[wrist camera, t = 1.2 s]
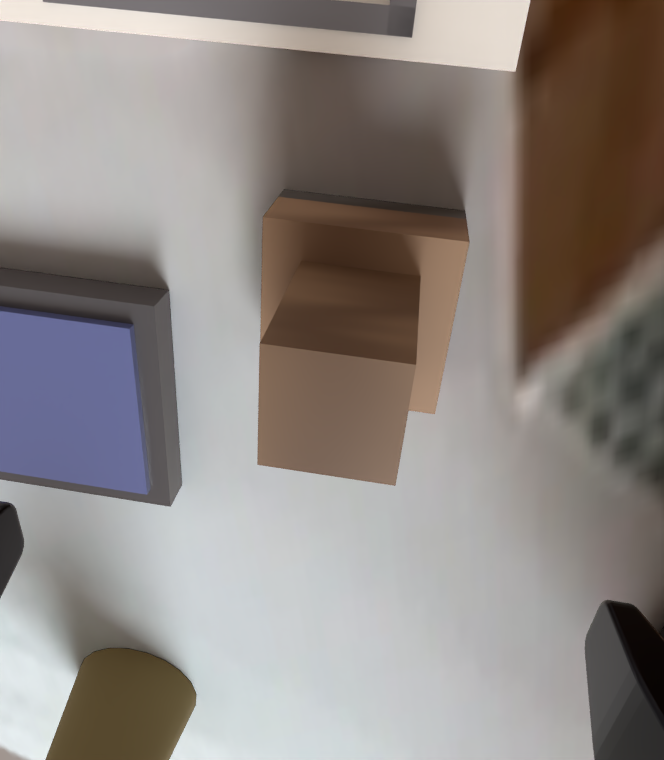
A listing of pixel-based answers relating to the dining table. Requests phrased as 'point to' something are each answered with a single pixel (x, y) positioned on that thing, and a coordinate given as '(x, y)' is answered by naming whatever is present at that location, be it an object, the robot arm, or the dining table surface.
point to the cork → (123, 709)
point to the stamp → (352, 328)
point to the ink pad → (88, 387)
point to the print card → (310, 25)
